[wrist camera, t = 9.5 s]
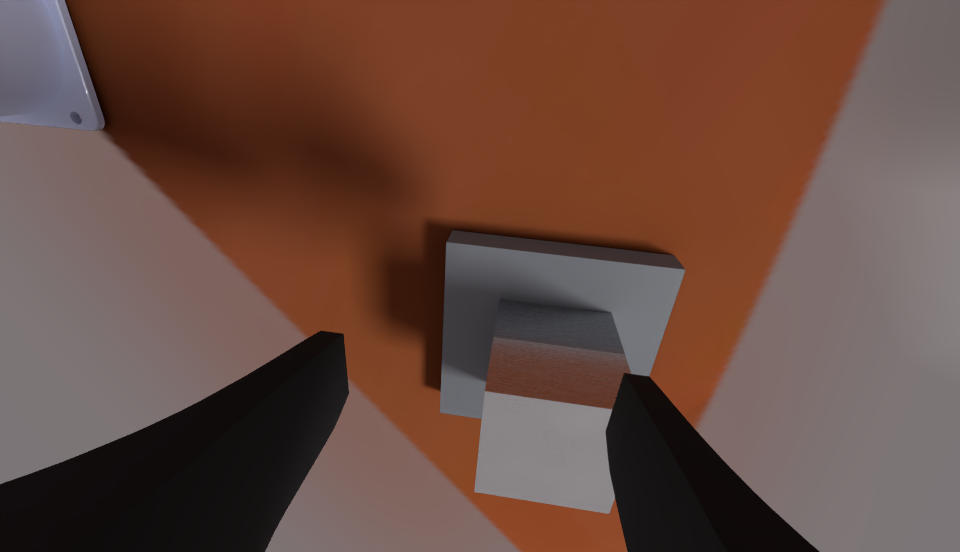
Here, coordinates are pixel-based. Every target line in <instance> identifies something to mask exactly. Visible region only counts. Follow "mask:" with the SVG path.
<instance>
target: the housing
mask: <svg viewBox="0 0 960 552" xmlns="http://www.w3.org/2000/svg"><path fill="white" fill-rule="evenodd" d="M624 373H629V374H631V371H630V368H629V365H628V362H627V359H626V356H625V353H624V349H623V346H622V343H621V340H620V337H619V334H618V331H617V328H616V325H615V322H614V319H613V316H612V313H610V312H602V311H594V310H586V309H578V308H570V307H562V306H554V305H546V304H538V303H530V302H522V301H514V300H506V299H499V305H498V312H497V318H496V324H495V330H494V337H493V343H492V349H491V355H490V362H489V368H488V374H487V380H486V387H485V394H484V404H483V413H482V423H481V433H480V443H479V452H478V462H477V472H476V482H475V491H474V492H479V493H485V494H491V495H497V496H503V497H509V498H515V499H522V500H528V501H534V502H540V503H546V504H552V505H558V506H564V507H571V508H577V509H583V510H589V511H595V512H601V513H607V514H609V513H610V510H611V507H612V504H613V502H614V499H615V494H614V490H613V485H612V481H611V476H610V471H609V462H608V454H607V443H606V428H607V425H608V422H609V419H610V416H611V412H612V409H613V406H614V403H615V400H616V396H617V393H618V390H619V387H620V384H621V381H622V377H623V374H624Z"/></svg>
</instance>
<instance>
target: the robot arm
mask: <svg viewBox="0 0 960 552" xmlns="http://www.w3.org/2000/svg"><path fill="white" fill-rule="evenodd" d="M79 115H80V117H81V119H82V120H81V119H80V117H79ZM0 122H10V123H20V124H29V125H39V126H49V127H59V128H70V129H79V130H89V131H94V130H101V129H103V128H104V125H105V121H104V117H103V114H102V111H101V108H100V105H99V102H98V99H97V96H96V93H95V90H94V87H93V84H92V81H91V78H90V75H89V72H88V69H87V66H86V63H85V60H84V57H83V54H82V51H81V48H80V45H79V42H78V39H77V36H76V33H75V30H74V27H73V24H72V21H71V18H70V15H69V12H68V9H67V6H66V3H65V0H0ZM348 394H349V390H348V378H347V367H346V356H345V345H344V335H343V334H341V333H334V332H326V331H320V332H318V333H316V334H314V335H313V336H311V337H309V338H307V339H306V340H304V341H302V342H301V343H299V344H297V345H296V346H294V347H293V348H291V349H290V350H288V351H286V352H285V353H283V354H281V355H280V356H278V357H276V358H275V359H273V360H271V361H270V362H268V363H266V364H265V365H263V366H261V367H260V368H258V369H256V370H255V371H253V372H251V373H250V374H248V375H246V376H245V377H243V378H241V379H239V380H238V381H236V382H234V383H232V384H230V385H228V386H227V387H225V388H223V389H221V390H219V391H218V392H216V393H214V394H212V395H211V396H208V397H207V398H205V399H203V400H201V401H199V402H197V403H196V404H193V405H192V406H190V407H188V408H186V409H184V410H182V411H180V412H178V413H175V414H173V415H171V416H169V417H167V418H165V419H163V420H161V421H159V422H156V423H154V424H152V425H150V426H148V427H146V428H143V429H141V430H139V431H137V432H135V433H132V434H130V435H127V436H125V437H123V438H120V439H118V440H115V441H113V442H110V443H108V444H105V445H103V446H101V447H98V448H96V449H93V450H91V451H88V452H86V453H84V454H81V455H79V456H76V457H74V458H71V459H69V460H66V461H64V462H61V463H59V464H55V465H53V466H50V467H48V468H45V469H42V470H39V471H37V472H34V473H31V474H28V475H25V476H22V477H20V478H17V479H14V480H12V481H8V482H5V483H3V484H0V552H265V550H266V548H267V546H268V544H269V542H270V540H271V537H272V536H273V534H274V532H275V530H276V528H277V526H278V524H279V522H280V520H281V519H282V517H283V515H284V513H285V511H286V509H287V508H288V506H289V505H290V503H291V501H292V499H293V498H294V496H295V494H296V492H297V491H298V489H299V488H300V486H301V484H302V482H303V481H304V479H305V477H306V476H307V474H308V472H309V470H310V469H311V467H312V466H313V464H314V462H315V460H316V459H317V457H318V455H319V453H320V452H321V450H322V448H323V447H324V445H325V443H326V441H327V439H328V438H329V436H330V434H331V433H332V431H333V429H334V427H335V425H336V423H337V420H338V418H339V416H340V414H341V411H342V409H343V406H344V404H345V402H346V399H347V397H348ZM606 443H607V454H608V462H609V471H610V476H611V481H612V485H613V490H614V494H615V499H616V503H617V508H618V512H619V517H620V521H621V525H622V530H623V534H624V538H625V543H626V547H627V551H628V552H819V551H818V550H817V549H816V548H814V547H813V546H812V545H811V544H810V543H809V542H808V541H807V540H805V539H804V538H803V537H802V536H801V535H800V534H799V533H798V532H797V531H795V530H794V529H793V528H792V527H791V526H790V525H789V524H788V523H786V522H785V521H784V520H783V519H782V518H781V517H780V516H779V515H778V514H777V513H776V512H775V511H773V510H772V509H771V508H770V507H769V506H768V505H767V504H766V503H765V502H764V501H763V500H762V499H761V498H760V497H759V496H758V495H757V494H756V493H754V492H753V491H752V489H751V488H750V487H749V486H748V485H747V484H746V483H745V482H744V481H743V480H742V479H741V478H740V477H739V476H738V475H737V474H736V473H735V472H734V471H733V470H732V469H731V468H730V467H729V466H728V465H727V464H726V463H725V462H724V461H723V460H722V459H721V458H720V456H719V455H717V453H716V452H715V451H714V450H713V449H712V448H711V447H710V446H709V445H708V443H707V442H706V441H705V440H704V439H703V438H702V437H701V436H700V435H699V433H698V432H697V431H696V430H695V429H694V428H693V427H692V425H691V424H690V423H689V422H688V421H687V420H686V419H685V417H684V416H683V415H682V414H681V413H680V412H679V410H678V409H677V408H676V407H675V406H674V405H673V403H672V402H671V401H670V400H669V399H668V398H667V396H666V395H665V394H664V393H663V392H662V390H661V389H660V388H659V387H658V386H657V385H656V384H655V382H654V381H653V380H652V379H651V378H650V377H649V376H643V375H636V374H629V373H624V374H623V377H622V381H621V384H620V387H619V390H618V393H617V396H616V400H615V403H614V406H613V409H612V412H611V416H610V419H609V422H608V425H607V428H606Z"/></svg>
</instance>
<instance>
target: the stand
mask: <svg viewBox="0 0 960 552" xmlns="http://www.w3.org/2000/svg"><path fill="white" fill-rule="evenodd" d="M684 273H685V269H684V267H683V266H682V265H681V263H680V262H679V261H678V260H677V258H676V257H675V256H674V255H667V254H658V253H649V252H640V251H632V250H623V249H614V248H605V247H596V246H587V245H579V244H570V243H561V242H552V241H543V240H534V239H525V238H517V237H508V236H499V235H490V234H481V233H472V232H463V231H455V230H453V231H452V232H451V234H450V236H449V238H448V240H447V242H446V264H445V291H444V318H443V344H442V371H441V398H440V413H446V414H453V415H459V416H466V417H473V418H480V419H482V413H483V404H484V394H485V387H486V380H487V374H488V368H489V362H490V355H491V349H492V343H493V337H494V330H495V324H496V318H497V312H498V305H499V299H506V300H514V301H522V302H530V303H538V304H546V305H554V306H562V307H570V308H578V309H586V310H594V311H602V312H610V313H612V316H613V319H614V322H615V325H616V328H617V331H618V334H619V337H620V340H621V343H622V346H623V349H624V353H625V356H626V359H627V362H628V365H629V368H630V371H631V374H636V375H643V376H649V375H650V372H651V369H652V366H653V363H654V361H655V358H656V355H657V352H658V349H659V346H660V343H661V340H662V337H663V334H664V331H665V328H666V325H667V322H668V320H669V317H670V314H671V311H672V308H673V305H674V302H675V299H676V296H677V293H678V290H679V287H680V284H681V281H682V279H683V276H684Z"/></svg>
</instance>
